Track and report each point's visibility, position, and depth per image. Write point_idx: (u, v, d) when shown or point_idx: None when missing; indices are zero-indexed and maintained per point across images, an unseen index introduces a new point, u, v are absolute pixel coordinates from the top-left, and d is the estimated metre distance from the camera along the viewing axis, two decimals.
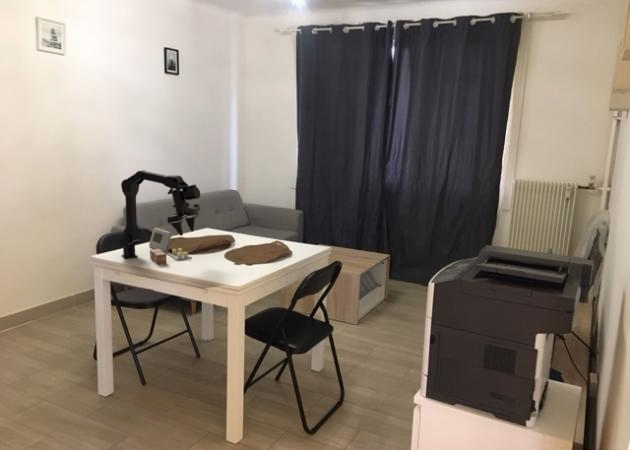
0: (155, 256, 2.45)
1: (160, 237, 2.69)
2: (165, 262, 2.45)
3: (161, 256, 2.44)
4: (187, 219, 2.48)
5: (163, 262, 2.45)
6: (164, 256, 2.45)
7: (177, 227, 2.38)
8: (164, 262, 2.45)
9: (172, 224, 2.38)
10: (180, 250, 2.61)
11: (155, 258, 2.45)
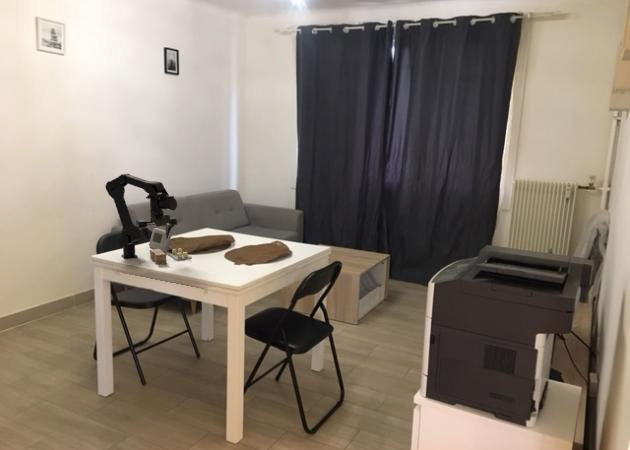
0: (155, 256, 2.45)
1: (160, 237, 2.69)
2: (165, 262, 2.45)
3: (161, 256, 2.44)
4: (166, 225, 2.50)
5: (163, 262, 2.45)
6: (164, 256, 2.45)
7: (144, 232, 2.44)
8: (164, 262, 2.45)
9: None
10: (180, 250, 2.61)
11: (155, 258, 2.45)
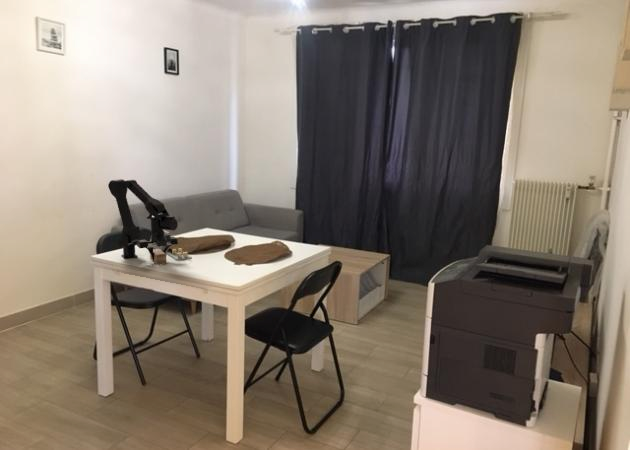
0: (155, 256, 2.45)
1: None
2: (165, 262, 2.45)
3: (161, 256, 2.44)
4: (162, 245, 2.51)
5: (163, 262, 2.45)
6: (164, 256, 2.45)
7: (150, 251, 2.47)
8: (164, 262, 2.45)
9: None
10: (180, 250, 2.61)
11: (155, 258, 2.45)
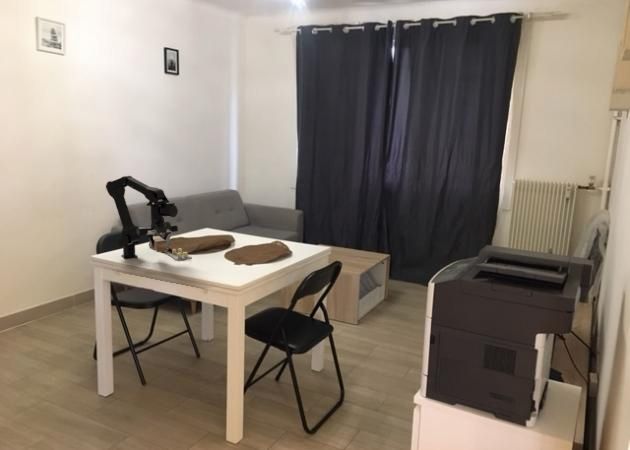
0: (155, 243, 2.43)
1: None
2: (165, 249, 2.44)
3: (161, 243, 2.42)
4: (162, 233, 2.49)
5: (163, 249, 2.43)
6: (164, 243, 2.43)
7: (150, 238, 2.45)
8: (164, 249, 2.44)
9: None
10: (180, 250, 2.61)
11: (155, 245, 2.44)
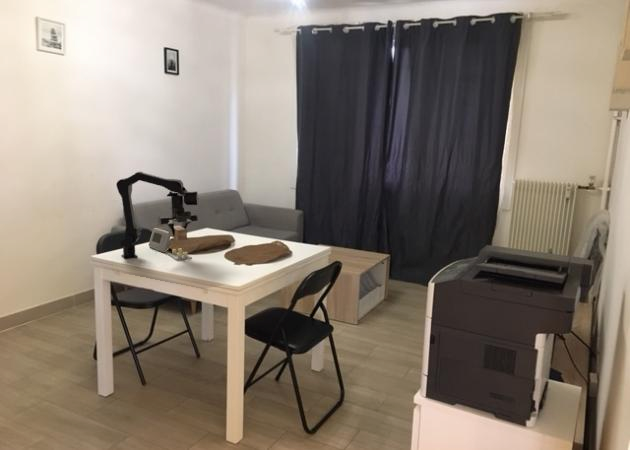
0: (176, 232, 2.51)
1: (160, 237, 2.69)
2: (186, 237, 2.52)
3: (182, 232, 2.50)
4: (182, 222, 2.57)
5: (184, 237, 2.51)
6: (185, 232, 2.51)
7: (170, 227, 2.53)
8: (185, 237, 2.51)
9: None
10: (180, 250, 2.61)
11: (176, 234, 2.51)
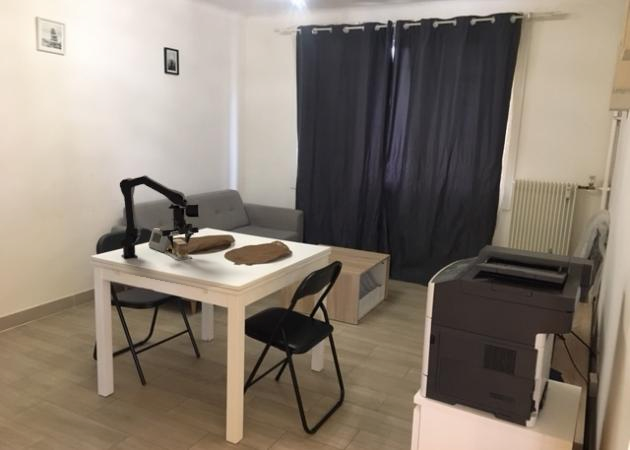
0: (177, 245, 2.53)
1: (159, 237, 2.69)
2: (187, 251, 2.54)
3: (183, 245, 2.52)
4: (185, 234, 2.60)
5: (185, 251, 2.53)
6: (186, 245, 2.53)
7: (170, 239, 2.54)
8: (186, 251, 2.53)
9: None
10: None
11: (177, 247, 2.53)
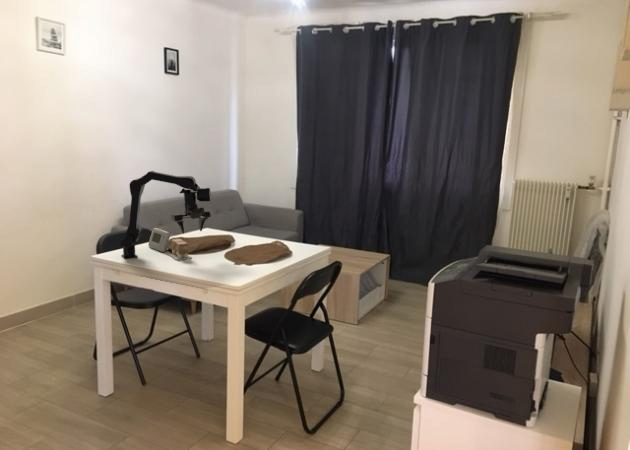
0: (177, 245, 2.53)
1: (159, 237, 2.69)
2: (187, 251, 2.54)
3: (183, 245, 2.52)
4: (199, 218, 2.58)
5: (185, 251, 2.53)
6: (186, 245, 2.53)
7: (180, 225, 2.52)
8: (186, 251, 2.53)
9: None
10: None
11: (177, 247, 2.53)
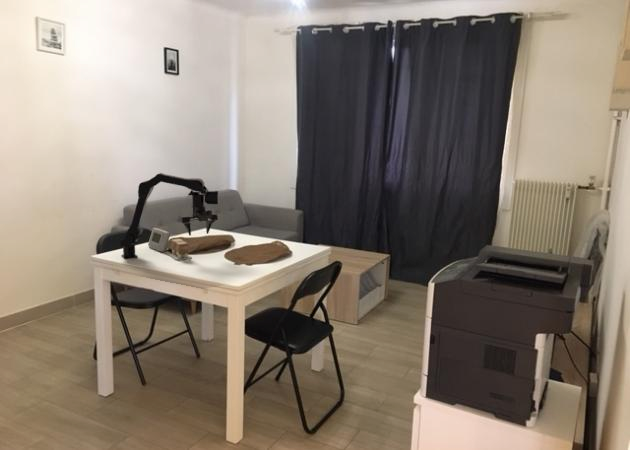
0: (177, 245, 2.53)
1: (159, 237, 2.69)
2: (187, 251, 2.54)
3: (183, 245, 2.52)
4: (206, 221, 2.58)
5: (185, 251, 2.53)
6: (186, 245, 2.53)
7: (187, 227, 2.52)
8: (186, 251, 2.53)
9: None
10: None
11: (177, 247, 2.53)
